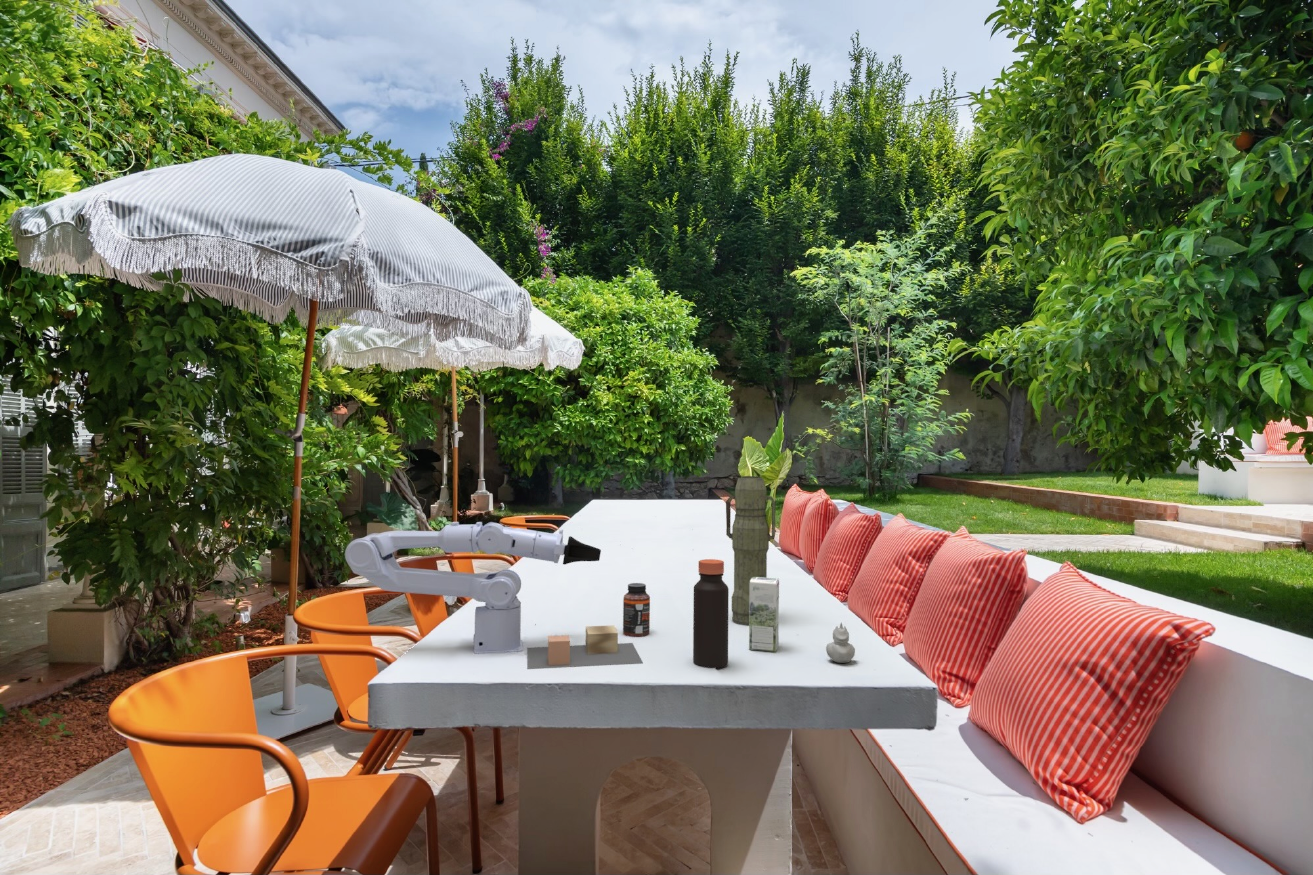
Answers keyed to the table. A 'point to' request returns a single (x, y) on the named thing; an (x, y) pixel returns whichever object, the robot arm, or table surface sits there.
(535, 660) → the mat
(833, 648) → the rubber duck
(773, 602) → the syrup box
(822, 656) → the table surface
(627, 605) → the supplement bottle
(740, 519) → the thermos
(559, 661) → the terracotta block
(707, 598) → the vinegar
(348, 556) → the robot arm
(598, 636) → the oak block
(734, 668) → the table surface
